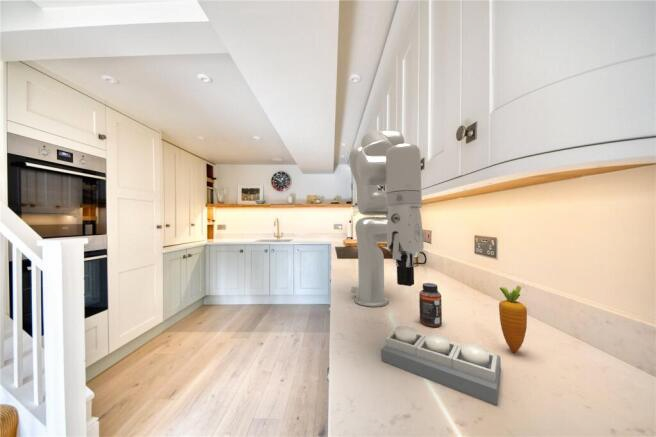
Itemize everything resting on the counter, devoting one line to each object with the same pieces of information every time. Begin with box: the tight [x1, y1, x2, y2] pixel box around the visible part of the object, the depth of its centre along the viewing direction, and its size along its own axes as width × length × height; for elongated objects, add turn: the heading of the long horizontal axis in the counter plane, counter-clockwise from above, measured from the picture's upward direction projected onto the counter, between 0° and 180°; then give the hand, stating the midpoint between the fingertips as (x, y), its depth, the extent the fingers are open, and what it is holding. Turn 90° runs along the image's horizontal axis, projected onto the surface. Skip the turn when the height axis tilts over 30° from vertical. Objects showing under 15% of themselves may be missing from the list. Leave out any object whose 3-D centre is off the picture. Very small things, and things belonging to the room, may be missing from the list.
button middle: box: [425, 333, 450, 355], centre depth 48 cm, size 4×4×2 cm
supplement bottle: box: [418, 282, 443, 328], centre depth 68 cm, size 6×6×11 cm
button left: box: [394, 325, 417, 344], centre depth 52 cm, size 4×4×2 cm
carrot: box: [498, 285, 528, 354], centre depth 53 cm, size 5×5×15 cm
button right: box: [460, 342, 490, 367], centre depth 44 cm, size 4×4×2 cm
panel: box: [380, 329, 502, 406], centre depth 48 cm, size 20×12×4 cm, turn 51°
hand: (405, 284), depth 51 cm, fingers closed
